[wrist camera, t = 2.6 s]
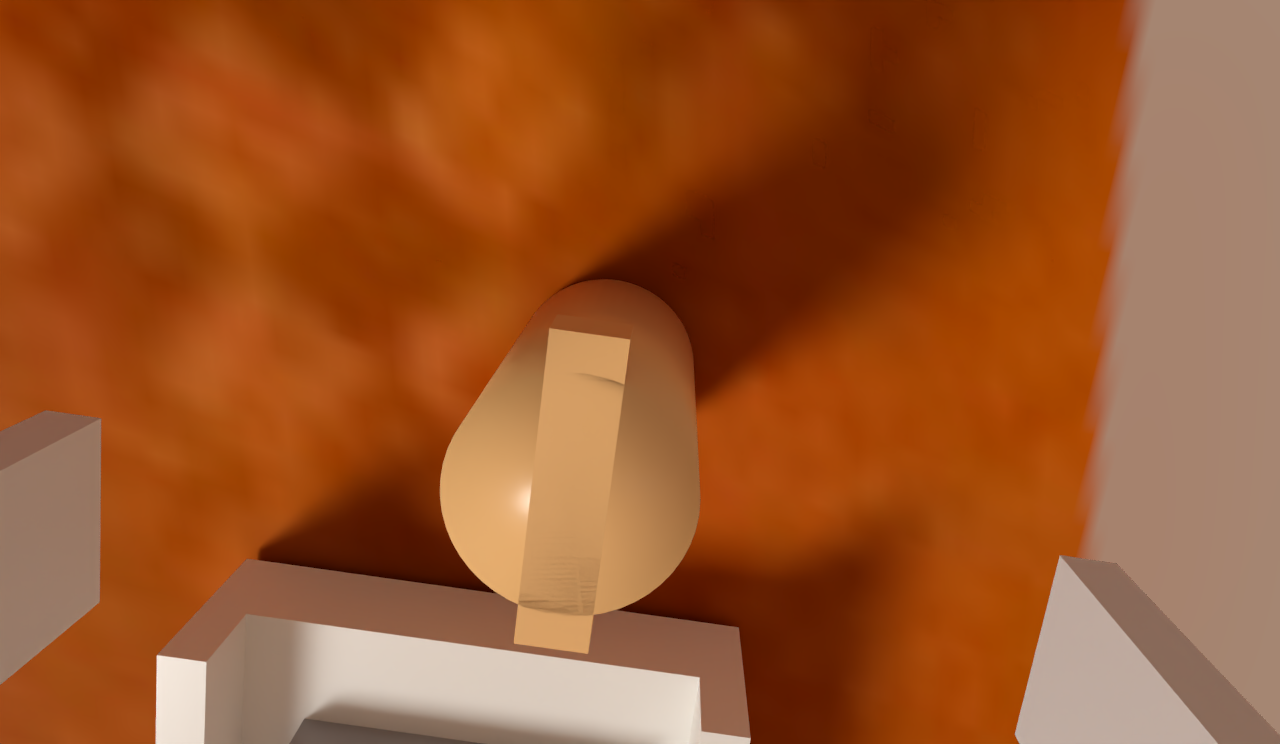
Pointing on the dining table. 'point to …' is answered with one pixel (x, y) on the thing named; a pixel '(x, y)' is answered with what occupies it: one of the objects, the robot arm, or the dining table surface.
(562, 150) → the dining table surface
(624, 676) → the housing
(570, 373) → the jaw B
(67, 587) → the robot arm
